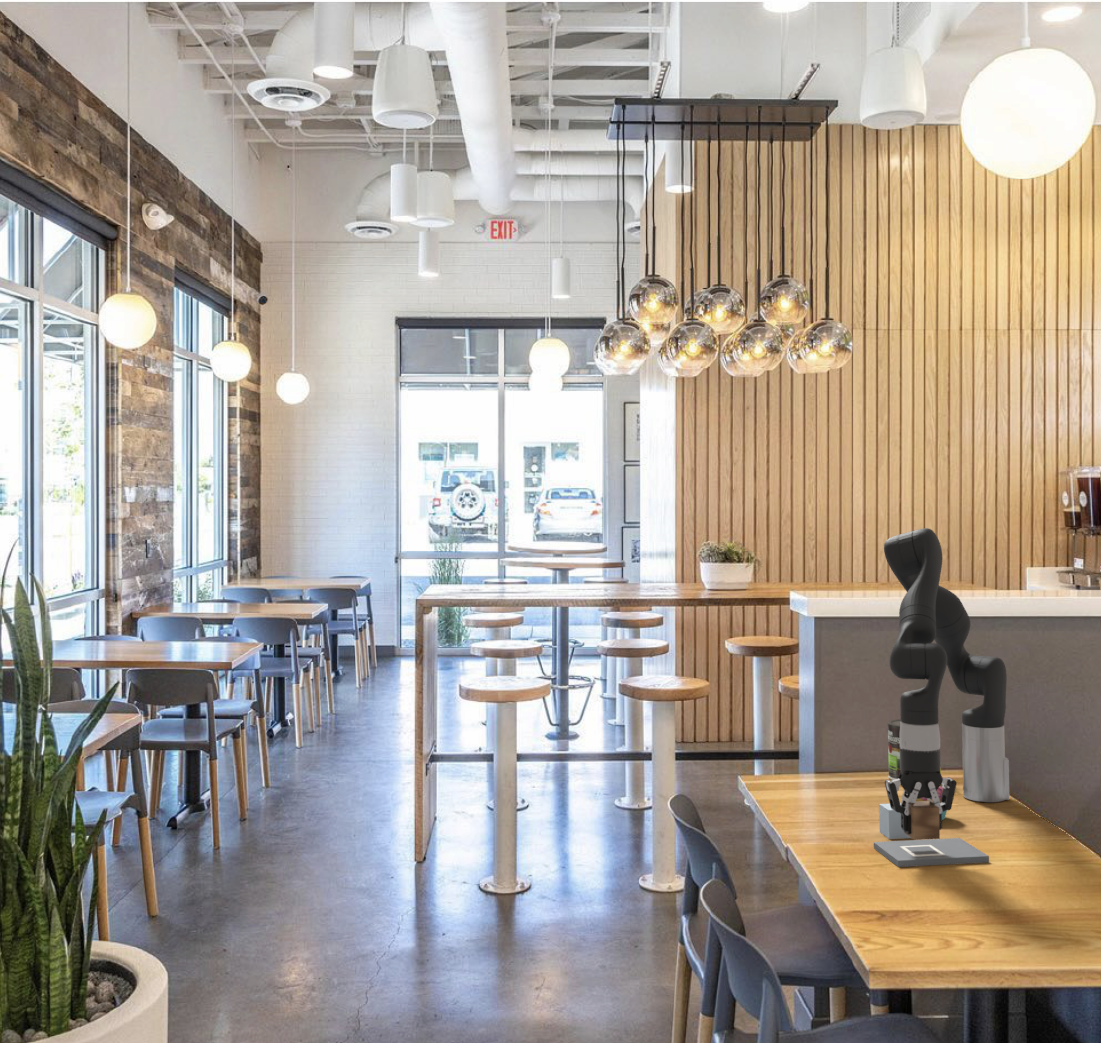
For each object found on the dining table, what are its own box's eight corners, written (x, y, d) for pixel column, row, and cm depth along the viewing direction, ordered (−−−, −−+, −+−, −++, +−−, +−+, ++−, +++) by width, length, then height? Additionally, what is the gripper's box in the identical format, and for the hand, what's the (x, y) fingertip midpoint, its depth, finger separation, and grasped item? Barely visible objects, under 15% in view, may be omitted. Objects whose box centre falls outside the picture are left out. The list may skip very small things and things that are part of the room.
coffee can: (898, 784, 270) (897, 727, 270) (881, 774, 280) (880, 720, 280) (938, 782, 271) (937, 725, 271) (920, 773, 281) (919, 718, 281)
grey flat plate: (959, 843, 221) (959, 837, 221) (989, 862, 209) (988, 855, 209) (873, 848, 219) (873, 841, 219) (898, 867, 207) (898, 860, 207)
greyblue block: (902, 831, 231) (902, 803, 231) (912, 838, 226) (912, 809, 226) (879, 832, 230) (879, 804, 230) (889, 839, 225) (888, 810, 225)
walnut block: (928, 831, 215) (927, 801, 215) (939, 838, 210) (939, 807, 210) (903, 832, 215) (903, 802, 215) (914, 839, 210) (914, 808, 210)
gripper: (946, 740, 217) (948, 825, 217) (876, 742, 216) (878, 828, 216) (964, 748, 210) (965, 836, 210) (892, 750, 208) (893, 839, 208)
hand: (921, 832), depth 213 cm, fingers closed on walnut block, 5 cm apart
